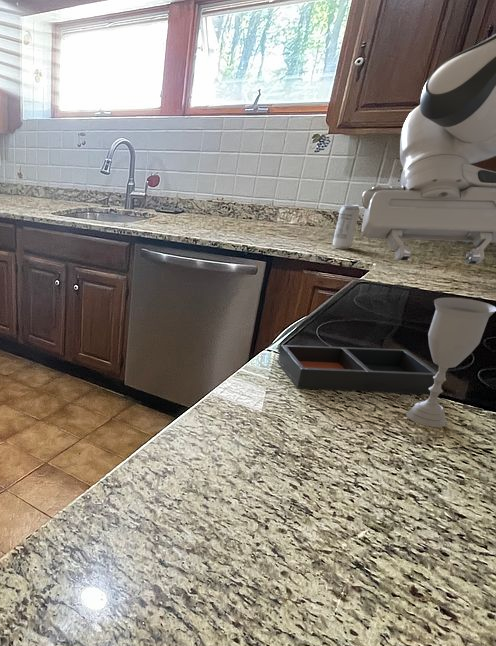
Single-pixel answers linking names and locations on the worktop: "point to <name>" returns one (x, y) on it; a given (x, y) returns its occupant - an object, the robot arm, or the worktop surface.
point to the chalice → (450, 348)
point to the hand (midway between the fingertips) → (438, 260)
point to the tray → (356, 369)
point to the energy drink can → (346, 226)
